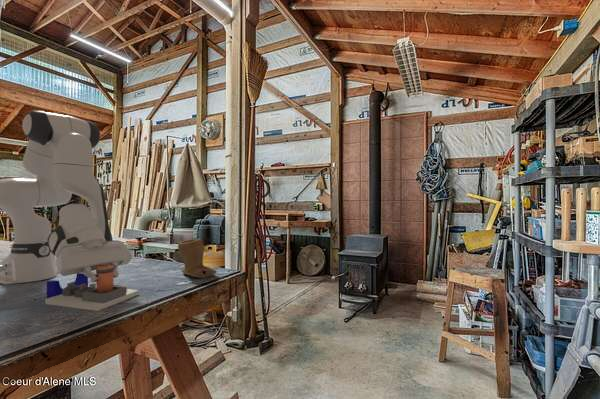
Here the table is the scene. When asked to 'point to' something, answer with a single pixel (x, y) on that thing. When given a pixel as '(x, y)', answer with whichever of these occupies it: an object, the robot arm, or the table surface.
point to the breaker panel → (90, 297)
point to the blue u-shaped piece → (56, 289)
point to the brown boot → (194, 258)
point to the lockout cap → (105, 278)
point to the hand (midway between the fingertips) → (106, 278)
